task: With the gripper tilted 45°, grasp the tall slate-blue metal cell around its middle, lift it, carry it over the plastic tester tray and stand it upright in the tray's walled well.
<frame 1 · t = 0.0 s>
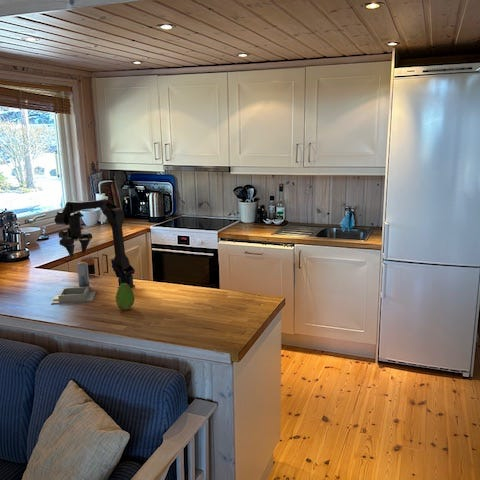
hand: (77, 255, 248), 15 cm above the worktop, tool pointing down, fingers open, 9 cm apart
tester tray: (74, 298, 226), on the worktop
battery: (88, 274, 268), on the worktop
big cell: (84, 287, 243), on the worktop
avocado: (126, 309, 210), on the worktop
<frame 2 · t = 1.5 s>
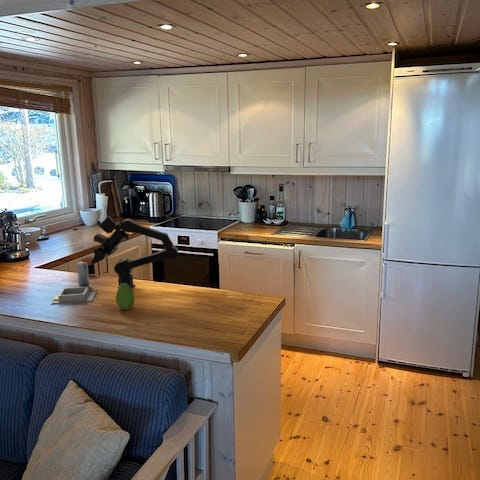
hand: (95, 261, 240), 14 cm above the worktop, tool tilted 45°, fingers open, 9 cm apart
nothing on the worktop moved.
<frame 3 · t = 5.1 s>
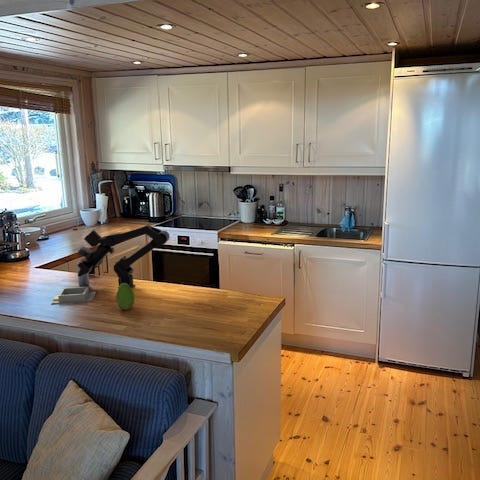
hand: (80, 274, 242), 7 cm above the worktop, tool tilted 45°, fingers closed on big cell, 5 cm apart
big cell: (84, 287, 243), on the worktop, touching gripper
everything else where it was.
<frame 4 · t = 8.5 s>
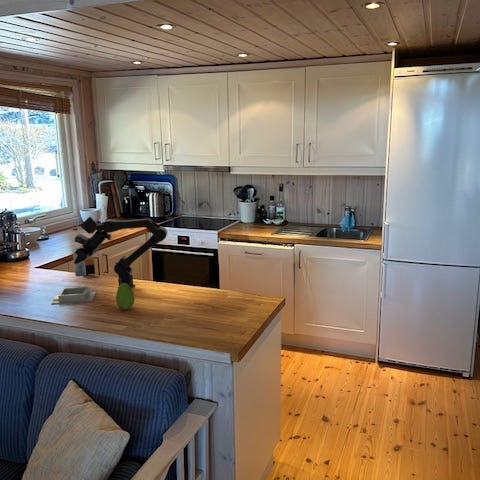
hand: (76, 262, 239), 14 cm above the worktop, tool tilted 45°, fingers closed on big cell, 5 cm apart
big cell: (80, 275, 240), point 7 cm above the worktop, touching gripper
everything else where it was.
when the fingers open (8 cm above the worktop, at t = 12.2 s): big cell drops 1 cm, resting on tester tray.
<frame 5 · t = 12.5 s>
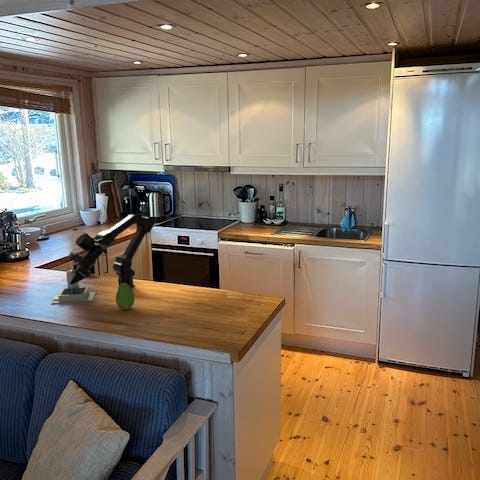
hand: (69, 281, 224), 8 cm above the worktop, tool tilted 45°, fingers open, 8 cm apart
big cell: (74, 297, 226), point 1 cm above the worktop, touching tester tray
everything else where it was.
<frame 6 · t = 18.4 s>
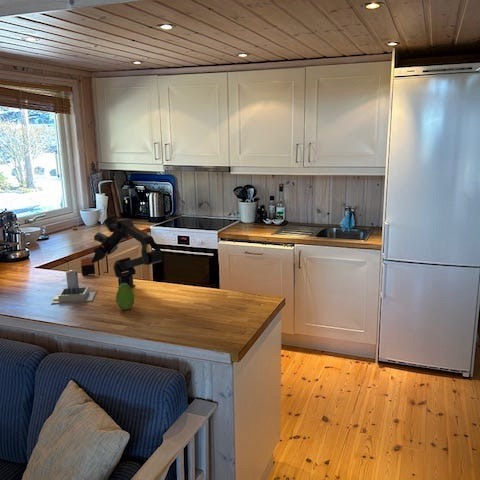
hand: (95, 260, 242), 14 cm above the worktop, tool tilted 45°, fingers open, 9 cm apart
nothing on the worktop moved.
at the end: big cell 0.0 cm off-centre on the tester tray, point 0.6 cm above the tester tray's base; big cell tilted 0°; the gripper is holding nothing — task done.
